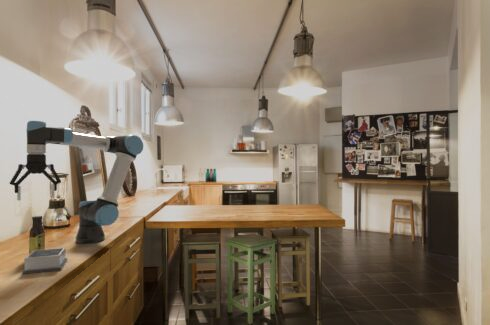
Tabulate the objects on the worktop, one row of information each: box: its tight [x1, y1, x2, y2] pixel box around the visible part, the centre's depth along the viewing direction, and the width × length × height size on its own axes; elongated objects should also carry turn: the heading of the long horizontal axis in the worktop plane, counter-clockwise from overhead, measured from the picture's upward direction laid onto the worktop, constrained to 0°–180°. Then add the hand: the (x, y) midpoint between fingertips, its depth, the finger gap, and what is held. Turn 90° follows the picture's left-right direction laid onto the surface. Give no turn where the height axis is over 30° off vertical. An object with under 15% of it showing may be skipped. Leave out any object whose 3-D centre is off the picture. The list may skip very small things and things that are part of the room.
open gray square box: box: [21, 247, 69, 275], centre depth 138 cm, size 14×14×6 cm
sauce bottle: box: [28, 215, 46, 255], centre depth 150 cm, size 7×6×20 cm
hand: (36, 199), depth 150 cm, fingers open, 13 cm apart
